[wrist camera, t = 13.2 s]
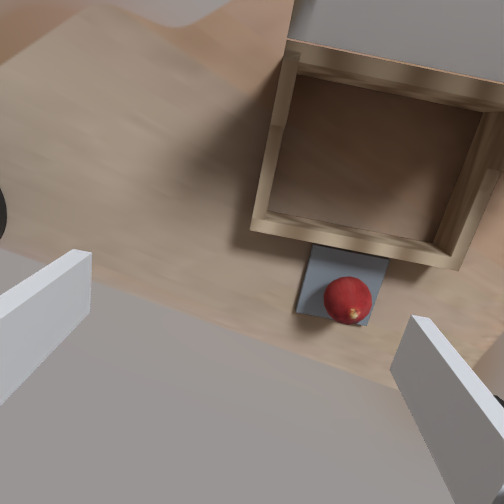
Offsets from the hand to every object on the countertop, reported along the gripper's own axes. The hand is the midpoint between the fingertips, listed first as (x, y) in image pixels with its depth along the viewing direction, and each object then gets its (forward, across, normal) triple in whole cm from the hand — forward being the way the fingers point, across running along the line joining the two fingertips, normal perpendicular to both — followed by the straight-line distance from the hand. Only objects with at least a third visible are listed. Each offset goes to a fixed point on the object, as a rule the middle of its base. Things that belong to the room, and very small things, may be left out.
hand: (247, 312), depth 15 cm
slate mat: (+32, +13, -11) cm, 36 cm away
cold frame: (+32, +12, +5) cm, 34 cm away
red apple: (+31, +13, -11) cm, 35 cm away
